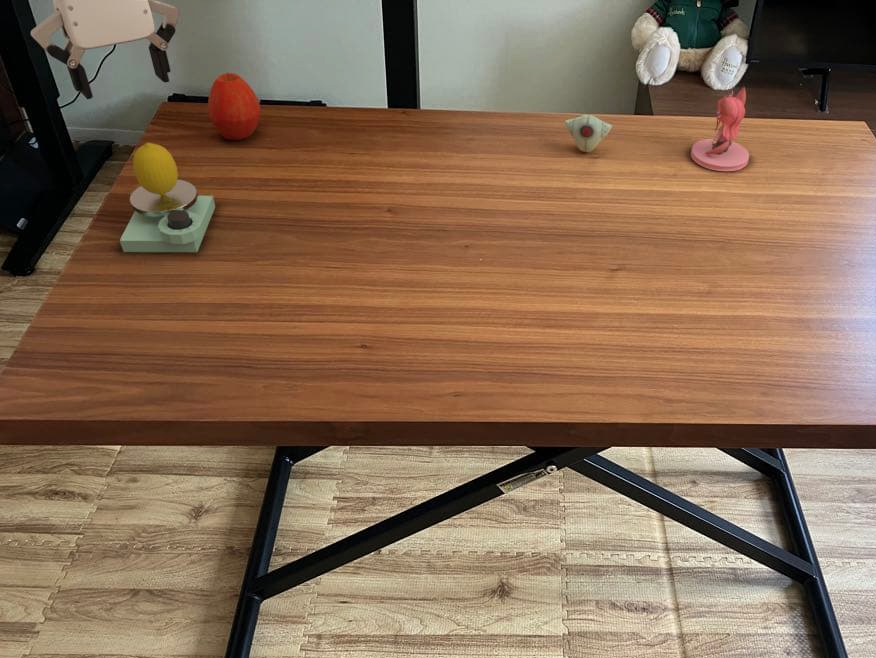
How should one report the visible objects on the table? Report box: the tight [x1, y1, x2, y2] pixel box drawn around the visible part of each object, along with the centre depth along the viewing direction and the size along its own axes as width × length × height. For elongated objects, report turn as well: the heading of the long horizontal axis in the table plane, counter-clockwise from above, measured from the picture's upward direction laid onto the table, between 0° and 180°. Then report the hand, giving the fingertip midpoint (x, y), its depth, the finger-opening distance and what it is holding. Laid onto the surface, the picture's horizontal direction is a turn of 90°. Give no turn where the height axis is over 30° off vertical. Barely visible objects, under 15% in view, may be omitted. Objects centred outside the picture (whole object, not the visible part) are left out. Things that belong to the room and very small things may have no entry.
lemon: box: [132, 142, 179, 196], centre depth 121 cm, size 6×6×8 cm
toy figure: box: [690, 86, 750, 172], centre depth 144 cm, size 10×10×12 cm
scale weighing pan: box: [129, 179, 199, 217], centre depth 124 cm, size 9×9×1 cm
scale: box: [119, 195, 216, 253], centre depth 124 cm, size 13×11×4 cm
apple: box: [207, 72, 261, 142], centre depth 142 cm, size 8×8×11 cm
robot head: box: [564, 114, 613, 153], centre depth 145 cm, size 8×4×7 cm, turn 82°
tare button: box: [167, 210, 191, 230], centre depth 120 cm, size 3×3×2 cm
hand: (125, 86), depth 112 cm, fingers open, 9 cm apart
